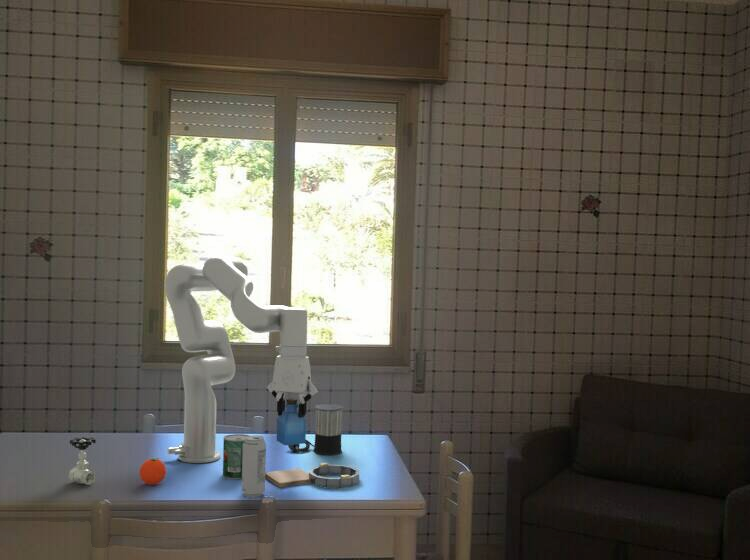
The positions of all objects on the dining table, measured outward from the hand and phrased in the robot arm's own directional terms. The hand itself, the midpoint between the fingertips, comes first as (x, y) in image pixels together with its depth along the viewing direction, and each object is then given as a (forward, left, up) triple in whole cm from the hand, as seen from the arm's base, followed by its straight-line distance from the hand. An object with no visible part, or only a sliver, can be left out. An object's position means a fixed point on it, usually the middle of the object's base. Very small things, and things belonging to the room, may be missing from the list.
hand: (291, 415), depth 210 cm
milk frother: (+20, +25, -19) cm, 37 cm away
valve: (-52, +20, -19) cm, 59 cm away
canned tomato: (-12, +10, -19) cm, 24 cm away
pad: (0, 0, -18) cm, 18 cm away
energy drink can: (-14, -8, -19) cm, 25 cm away
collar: (+11, -6, -18) cm, 22 cm away
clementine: (-35, +12, -19) cm, 41 cm away
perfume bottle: (0, 0, -8) cm, 8 cm away
